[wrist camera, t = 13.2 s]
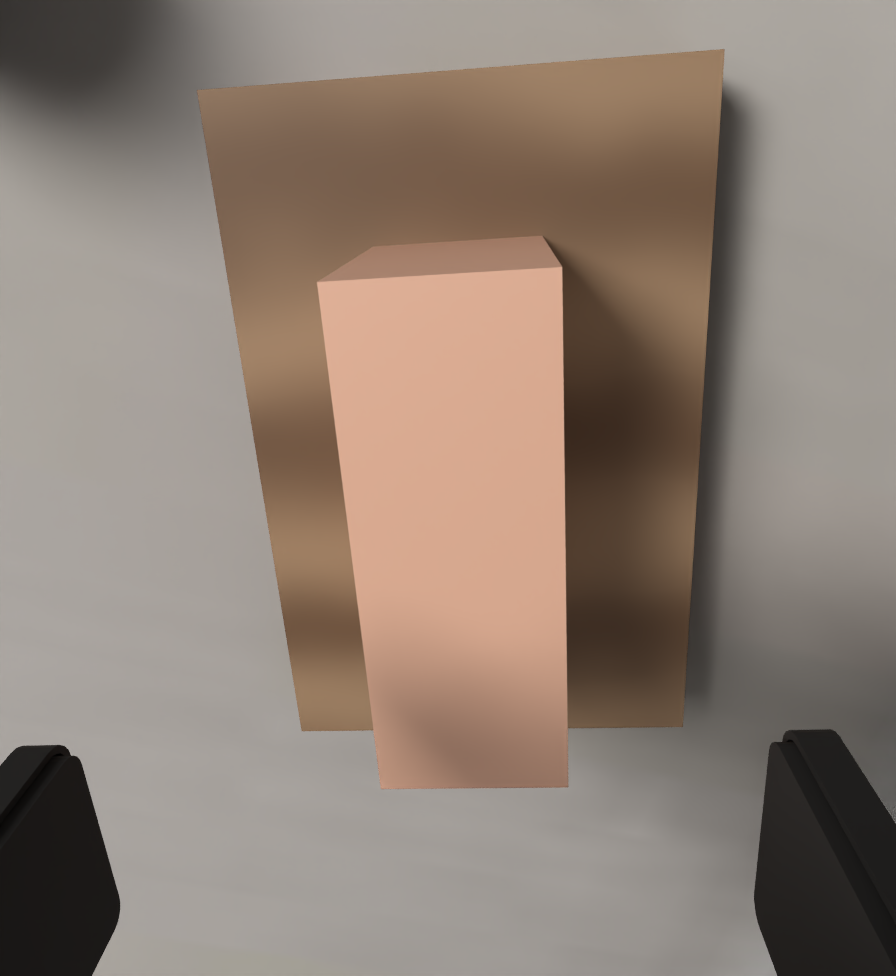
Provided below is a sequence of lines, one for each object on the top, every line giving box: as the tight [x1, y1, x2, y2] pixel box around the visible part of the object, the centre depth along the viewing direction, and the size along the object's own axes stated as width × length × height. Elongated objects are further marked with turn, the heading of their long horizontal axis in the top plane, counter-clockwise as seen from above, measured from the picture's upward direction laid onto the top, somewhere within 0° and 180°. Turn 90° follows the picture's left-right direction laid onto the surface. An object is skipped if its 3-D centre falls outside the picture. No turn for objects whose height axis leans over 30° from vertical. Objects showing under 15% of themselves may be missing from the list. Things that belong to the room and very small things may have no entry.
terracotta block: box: [317, 236, 568, 789], centre depth 20 cm, size 4×12×7 cm, turn 4°
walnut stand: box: [197, 49, 725, 731], centre depth 24 cm, size 20×13×3 cm, turn 4°
